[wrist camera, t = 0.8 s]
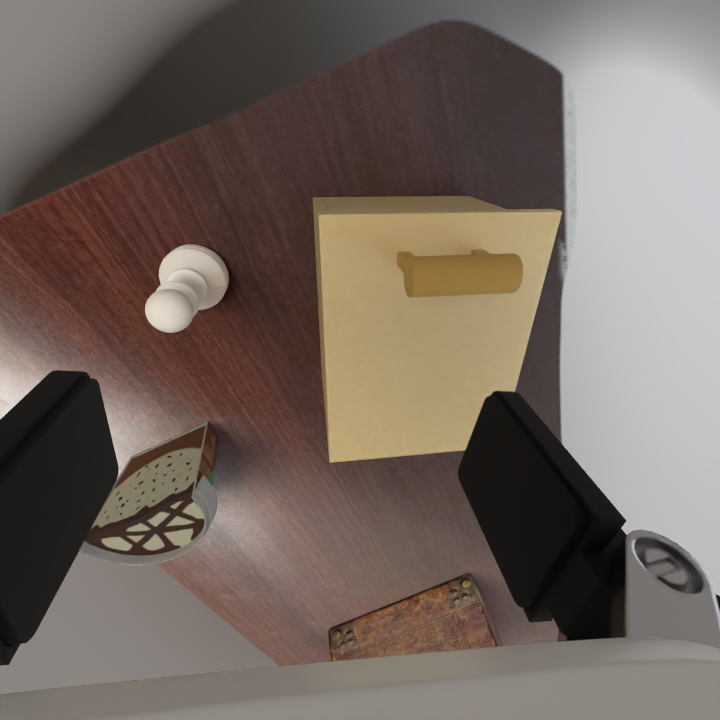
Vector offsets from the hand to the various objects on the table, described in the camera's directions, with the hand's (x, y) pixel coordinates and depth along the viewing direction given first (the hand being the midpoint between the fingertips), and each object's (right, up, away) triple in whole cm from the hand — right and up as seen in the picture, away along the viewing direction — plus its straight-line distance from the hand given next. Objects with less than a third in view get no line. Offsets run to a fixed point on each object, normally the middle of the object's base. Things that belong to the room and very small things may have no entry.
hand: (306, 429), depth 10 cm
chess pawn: (-12, +9, +22) cm, 26 cm away
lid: (+5, +2, +14) cm, 15 cm away
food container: (-17, -9, +31) cm, 37 cm away
